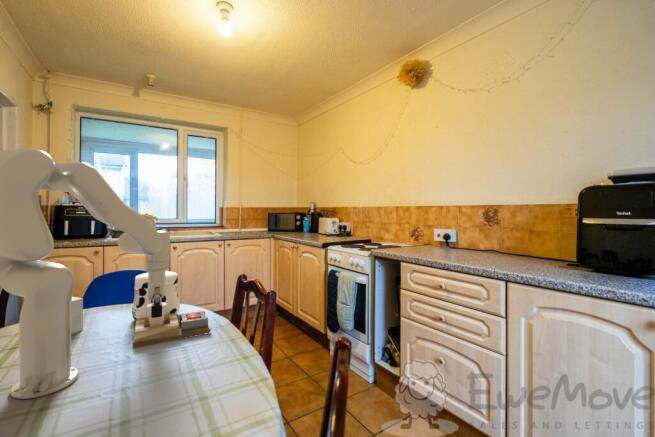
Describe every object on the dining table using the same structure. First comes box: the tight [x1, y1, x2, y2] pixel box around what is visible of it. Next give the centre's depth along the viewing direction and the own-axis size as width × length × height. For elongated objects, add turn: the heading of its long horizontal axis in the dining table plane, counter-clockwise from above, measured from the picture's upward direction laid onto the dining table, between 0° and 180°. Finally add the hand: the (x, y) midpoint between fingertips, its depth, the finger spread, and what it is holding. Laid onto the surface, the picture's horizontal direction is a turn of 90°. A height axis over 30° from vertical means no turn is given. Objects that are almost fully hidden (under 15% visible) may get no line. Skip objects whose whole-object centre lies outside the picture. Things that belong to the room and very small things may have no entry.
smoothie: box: [146, 302, 167, 327], centre depth 105 cm, size 6×6×14 cm
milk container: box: [131, 270, 181, 321], centre depth 122 cm, size 17×17×18 cm
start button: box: [186, 314, 201, 320], centre depth 112 cm, size 5×5×3 cm
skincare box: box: [71, 296, 84, 335], centre depth 107 cm, size 6×4×12 cm
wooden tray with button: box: [132, 310, 211, 349], centre depth 108 cm, size 14×24×5 cm, turn 121°
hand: (156, 312), depth 105 cm, fingers open, 9 cm apart
